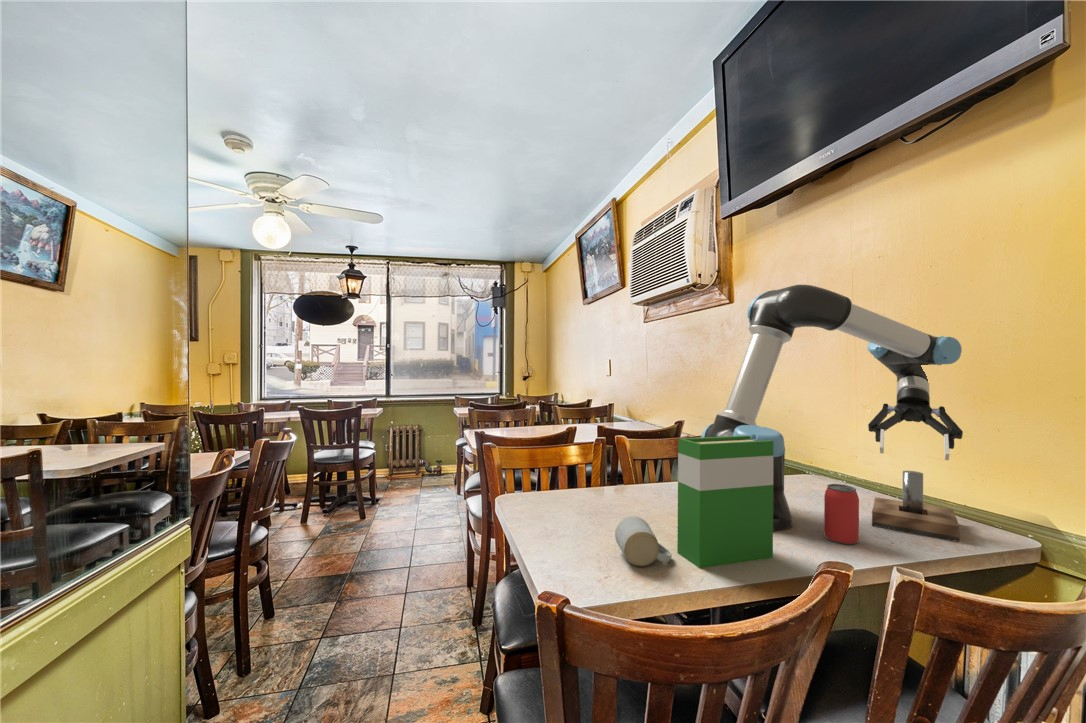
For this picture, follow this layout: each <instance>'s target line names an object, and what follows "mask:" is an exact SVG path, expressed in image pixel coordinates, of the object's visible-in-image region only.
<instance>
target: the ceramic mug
mask: <svg viewBox="0 0 1086 723" xmlns="http://www.w3.org/2000/svg"><path fill="white" fill-rule="evenodd" d="M614 533H615V535H614V536H615V541H616V543H617V546H618V547H619V549H620V550H621V553H622V554H623V556H624V558H625V560H627V561H628V562H629V563H630V564H631V565H633V566H635V567H646V566H649V565H651V564H653V562H655V560H657V561H659V562H662V563H665V564H666V563H667V564H668V563H669V562H670V561H671V558H672V556H673V554H672V552H670V551H669V549H667V548H666V547H665V546H664V545H662V544H660V543H659V542H658V539H657V536H656V535H655V533H654V532H653V530H652V528H651V526H650V525H649V523H648V522H647V521H646V520H644V519H643V518H642V517H639V516H637V515H636V516H635V515H631V516H627V517H624V518H623V519H622V520H621V521H619V523H618V524H617V525H616V528H615V532H614Z"/></svg>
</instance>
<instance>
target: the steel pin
mask: <svg viewBox="0 0 1086 723" xmlns="http://www.w3.org/2000/svg"><path fill="white" fill-rule="evenodd" d="M902 501H903V512H909V513H915V514H922V515H923V505H924V473H923V472H920V471H915V470H902Z"/></svg>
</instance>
